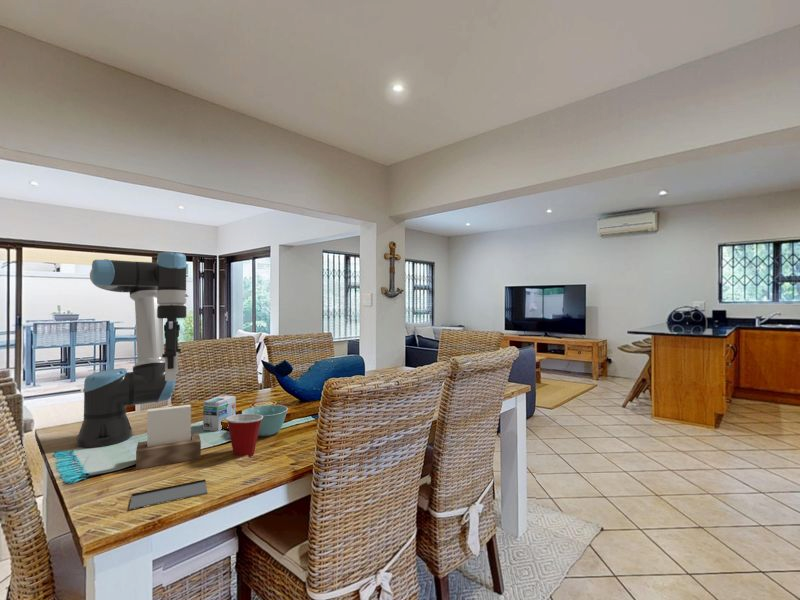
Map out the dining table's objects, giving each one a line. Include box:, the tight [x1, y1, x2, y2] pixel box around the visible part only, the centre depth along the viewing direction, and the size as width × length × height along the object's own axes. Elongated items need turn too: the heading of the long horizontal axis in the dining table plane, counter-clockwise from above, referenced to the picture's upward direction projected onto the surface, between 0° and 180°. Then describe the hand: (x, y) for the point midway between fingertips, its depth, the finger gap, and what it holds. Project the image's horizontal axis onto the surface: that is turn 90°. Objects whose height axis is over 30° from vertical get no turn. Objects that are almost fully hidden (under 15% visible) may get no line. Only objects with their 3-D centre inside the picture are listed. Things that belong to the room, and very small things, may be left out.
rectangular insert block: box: [146, 404, 192, 447], centre depth 117 cm, size 11×2×15 cm, turn 120°
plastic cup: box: [226, 413, 263, 458], centre depth 123 cm, size 11×11×12 cm
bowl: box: [241, 404, 289, 437], centre depth 144 cm, size 16×16×8 cm
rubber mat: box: [129, 479, 208, 511], centre depth 103 cm, size 16×20×1 cm
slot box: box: [135, 432, 202, 471], centre depth 117 cm, size 16×8×6 cm, turn 120°
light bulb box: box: [202, 394, 237, 432], centre depth 150 cm, size 11×7×11 cm, turn 168°
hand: (172, 377), depth 117 cm, fingers open, 13 cm apart
